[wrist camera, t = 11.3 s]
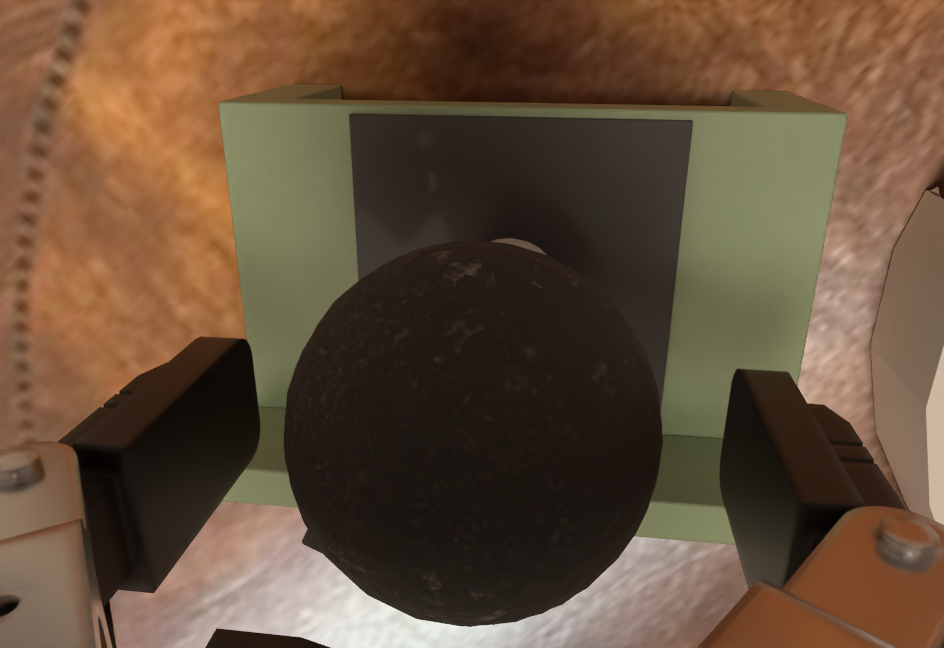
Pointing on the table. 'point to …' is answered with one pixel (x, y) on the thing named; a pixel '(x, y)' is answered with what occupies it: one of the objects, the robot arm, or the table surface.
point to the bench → (545, 238)
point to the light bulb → (473, 433)
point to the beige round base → (913, 360)
